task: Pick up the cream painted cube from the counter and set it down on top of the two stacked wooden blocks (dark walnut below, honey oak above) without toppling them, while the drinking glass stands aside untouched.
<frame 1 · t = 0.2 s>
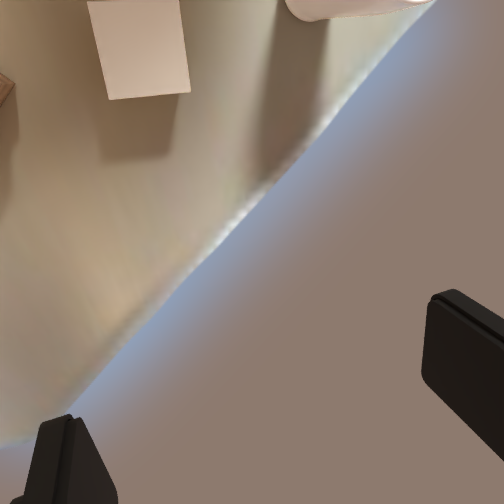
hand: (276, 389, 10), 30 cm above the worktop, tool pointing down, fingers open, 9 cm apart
cream cube: (139, 54, 32), on the worktop
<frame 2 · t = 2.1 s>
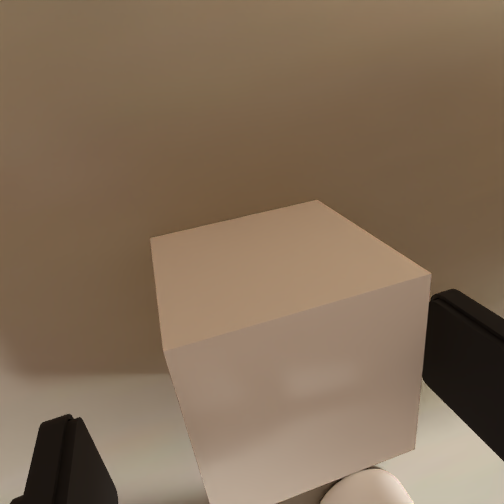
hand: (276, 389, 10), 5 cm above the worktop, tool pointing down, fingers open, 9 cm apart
cream cube: (248, 290, 14), on the worktop
drinking glass: (352, 492, 22), on the worktop
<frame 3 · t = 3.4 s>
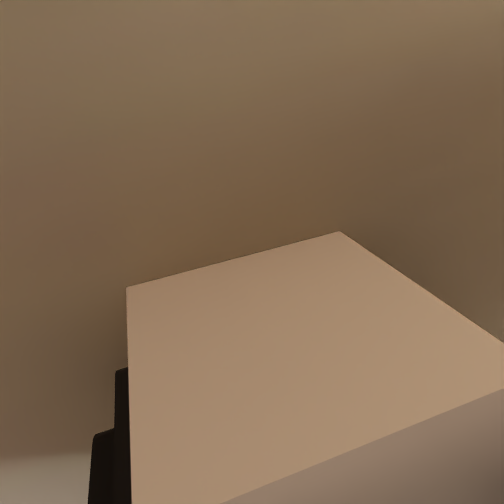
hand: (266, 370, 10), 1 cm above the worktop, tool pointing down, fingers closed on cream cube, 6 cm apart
cream cube: (254, 344, 11), on the worktop, touching gripper
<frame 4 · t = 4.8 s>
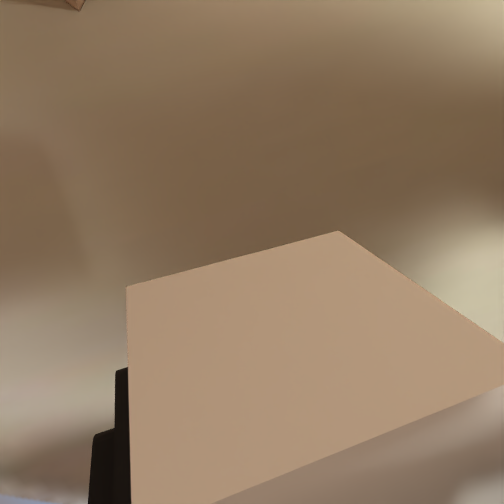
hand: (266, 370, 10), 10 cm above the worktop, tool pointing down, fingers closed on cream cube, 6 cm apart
cream cube: (253, 343, 11), point 9 cm above the worktop, touching gripper
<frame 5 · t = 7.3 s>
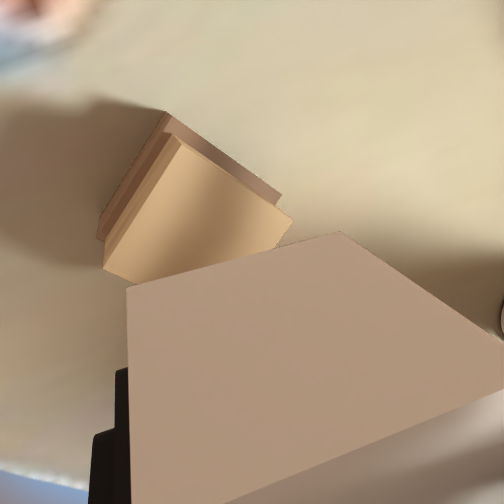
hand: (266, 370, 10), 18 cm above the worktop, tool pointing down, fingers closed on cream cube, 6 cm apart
cream cube: (254, 344, 11), point 16 cm above the worktop, touching gripper
oak block: (190, 218, 23), point 4 cm above the worktop, touching walnut block
walnut block: (184, 197, 26), on the worktop, touching oak block
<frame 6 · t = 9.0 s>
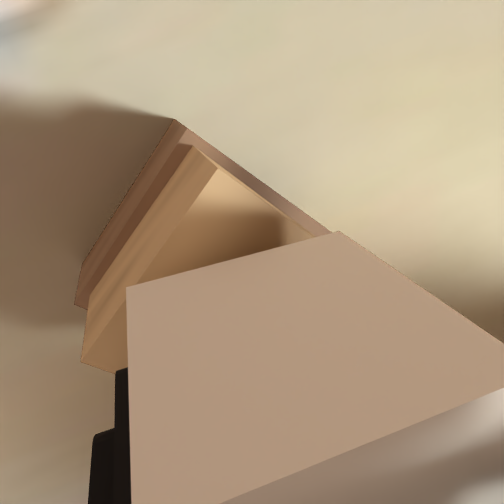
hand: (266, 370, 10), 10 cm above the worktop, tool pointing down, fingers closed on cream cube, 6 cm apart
cream cube: (253, 344, 11), point 9 cm above the worktop, touching gripper
oak block: (213, 265, 16), point 4 cm above the worktop, touching walnut block
walnut block: (197, 233, 19), on the worktop, touching oak block
when the fingers open (10 cm above the worktop, at t = 9.8 s): cream cube drops 1 cm, resting on oak block.
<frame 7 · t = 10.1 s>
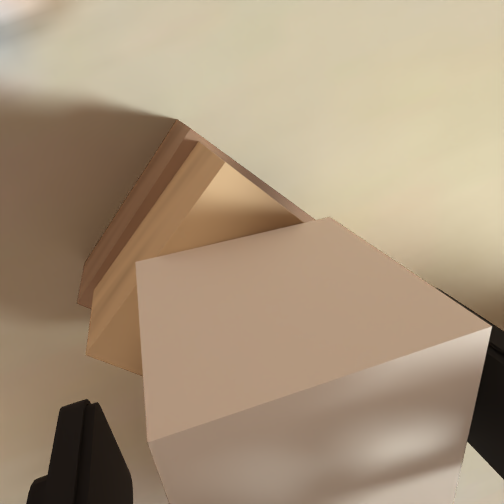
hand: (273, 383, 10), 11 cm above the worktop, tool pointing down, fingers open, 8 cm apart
cream cube: (249, 319, 13), point 8 cm above the worktop, touching oak block
oak block: (217, 261, 16), point 4 cm above the worktop, touching cream cube, walnut block
walnut block: (199, 233, 19), on the worktop, touching oak block
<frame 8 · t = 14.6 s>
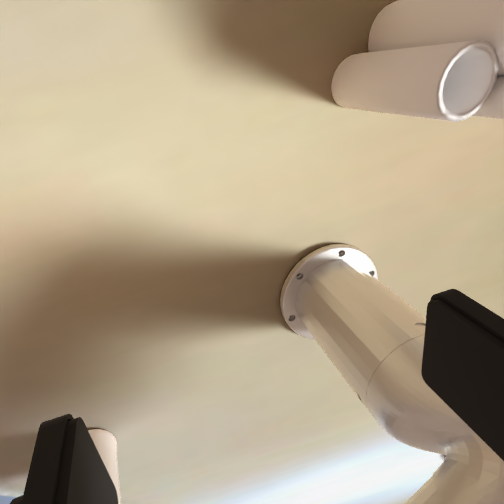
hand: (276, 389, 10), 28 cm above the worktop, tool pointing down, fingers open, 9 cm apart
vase: (381, 64, 37), on the worktop
drinking glass: (93, 442, 45), on the worktop
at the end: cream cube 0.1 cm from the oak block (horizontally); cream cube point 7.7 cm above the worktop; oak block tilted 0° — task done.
